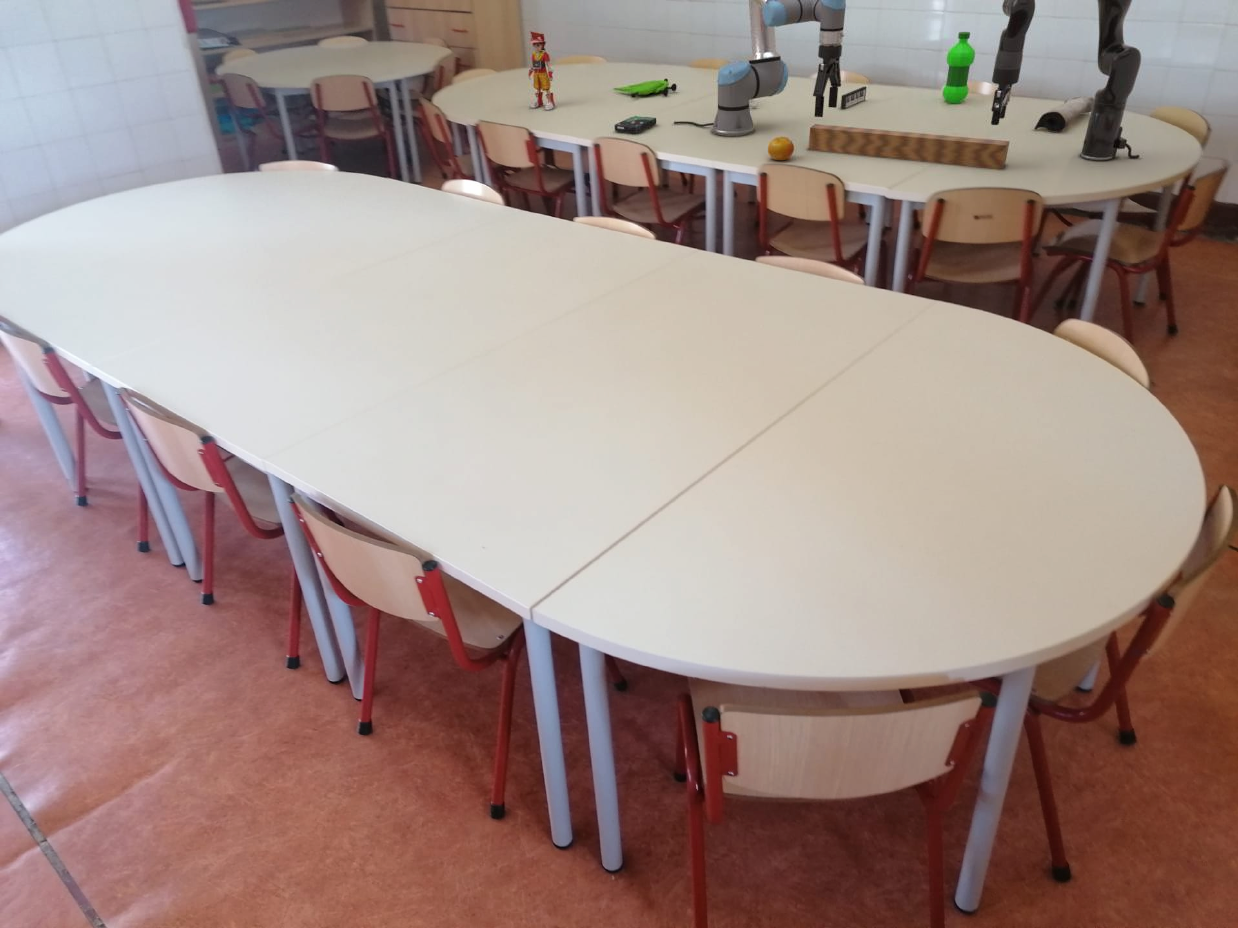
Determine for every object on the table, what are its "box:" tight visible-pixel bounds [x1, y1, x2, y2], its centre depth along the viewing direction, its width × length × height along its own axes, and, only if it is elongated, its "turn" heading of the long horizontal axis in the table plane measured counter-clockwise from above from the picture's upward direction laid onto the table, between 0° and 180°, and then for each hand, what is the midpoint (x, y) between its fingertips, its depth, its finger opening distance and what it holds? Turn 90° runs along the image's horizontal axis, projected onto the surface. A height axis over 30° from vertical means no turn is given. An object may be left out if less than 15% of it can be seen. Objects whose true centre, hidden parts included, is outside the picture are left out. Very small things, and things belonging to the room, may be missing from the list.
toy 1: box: [527, 31, 556, 111], centre depth 374 cm, size 12×9×30 cm
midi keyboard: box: [840, 86, 867, 110], centre depth 358 cm, size 18×1×5 cm, turn 138°
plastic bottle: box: [942, 31, 976, 104], centre depth 348 cm, size 10×10×25 cm
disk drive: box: [614, 115, 657, 135], centre depth 346 cm, size 10×3×15 cm
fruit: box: [767, 136, 795, 161], centre depth 303 cm, size 8×8×8 cm
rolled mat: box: [1034, 96, 1094, 133], centre depth 322 cm, size 30×9×10 cm
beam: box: [808, 123, 1010, 170], centre depth 298 cm, size 64×5×8 cm, turn 59°
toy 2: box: [612, 78, 677, 99], centre depth 396 cm, size 28×5×30 cm
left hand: (825, 112), depth 305 cm, fingers open, 13 cm apart
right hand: (997, 121), depth 280 cm, fingers open, 8 cm apart
